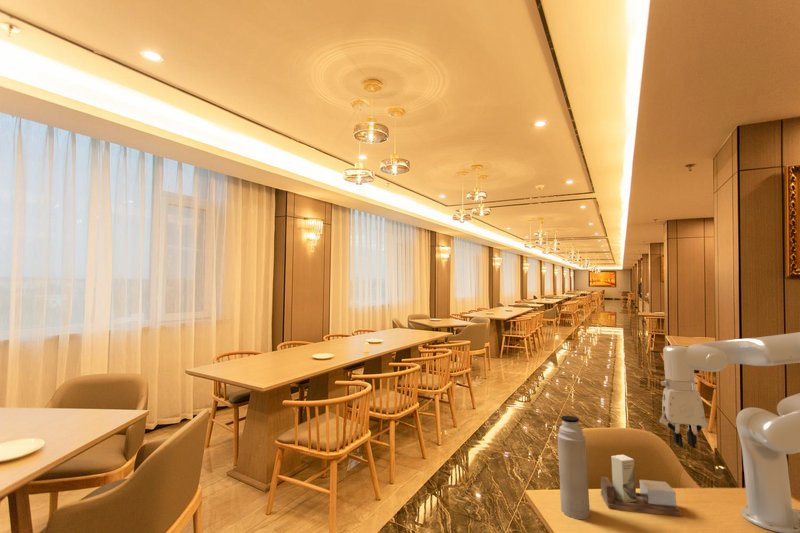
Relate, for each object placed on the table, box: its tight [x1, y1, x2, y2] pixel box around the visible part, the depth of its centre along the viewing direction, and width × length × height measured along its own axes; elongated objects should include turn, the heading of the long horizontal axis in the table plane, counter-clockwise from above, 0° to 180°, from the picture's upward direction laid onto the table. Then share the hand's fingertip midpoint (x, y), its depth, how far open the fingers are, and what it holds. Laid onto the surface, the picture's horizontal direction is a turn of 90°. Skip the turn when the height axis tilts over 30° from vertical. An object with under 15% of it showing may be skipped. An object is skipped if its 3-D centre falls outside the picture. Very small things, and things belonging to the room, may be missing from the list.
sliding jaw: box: [639, 479, 678, 508], centre depth 116 cm, size 8×6×5 cm
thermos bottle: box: [556, 415, 590, 520], centre depth 115 cm, size 8×8×28 cm
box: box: [611, 454, 637, 503], centre depth 119 cm, size 5×4×13 cm
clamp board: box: [600, 476, 682, 517], centre depth 117 cm, size 20×8×6 cm, turn 76°
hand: (685, 445), depth 116 cm, fingers open, 2 cm apart
